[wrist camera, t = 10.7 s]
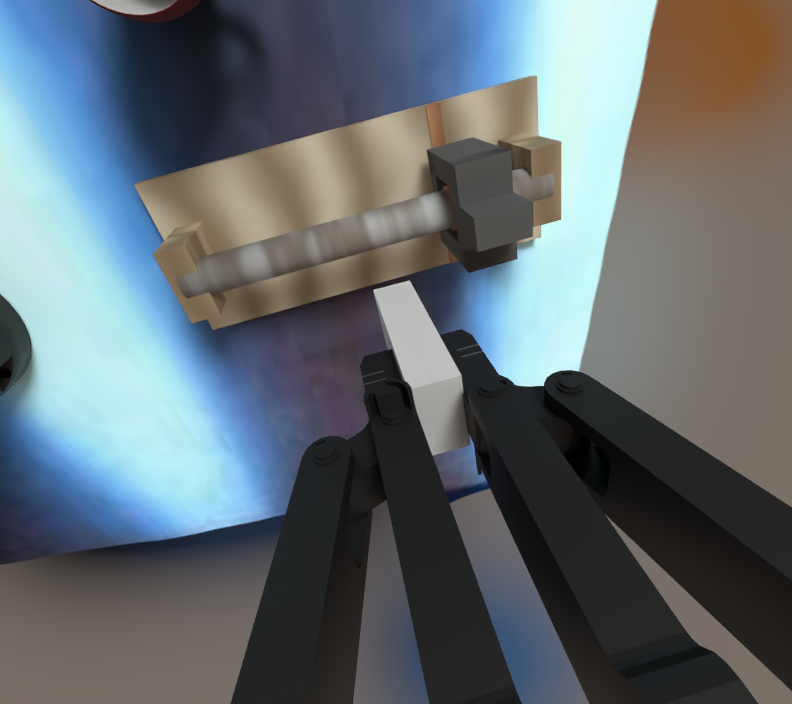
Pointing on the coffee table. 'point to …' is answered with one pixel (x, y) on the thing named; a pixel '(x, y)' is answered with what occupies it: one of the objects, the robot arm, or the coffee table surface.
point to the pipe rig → (336, 206)
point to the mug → (148, 9)
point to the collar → (480, 202)
